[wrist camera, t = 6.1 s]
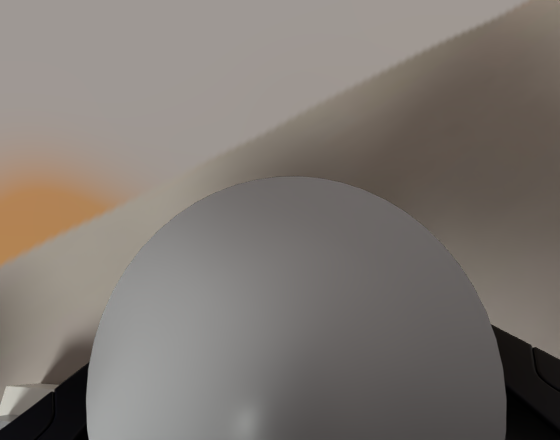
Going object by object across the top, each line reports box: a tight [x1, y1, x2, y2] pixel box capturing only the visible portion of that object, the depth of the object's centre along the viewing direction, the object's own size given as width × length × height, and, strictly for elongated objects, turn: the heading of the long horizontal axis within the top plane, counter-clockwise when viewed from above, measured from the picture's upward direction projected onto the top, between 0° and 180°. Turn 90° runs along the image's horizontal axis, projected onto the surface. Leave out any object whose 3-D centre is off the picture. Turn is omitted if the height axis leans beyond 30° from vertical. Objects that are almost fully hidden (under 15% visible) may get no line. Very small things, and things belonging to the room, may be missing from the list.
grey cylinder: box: [86, 176, 506, 440], centre depth 8 cm, size 5×5×10 cm
